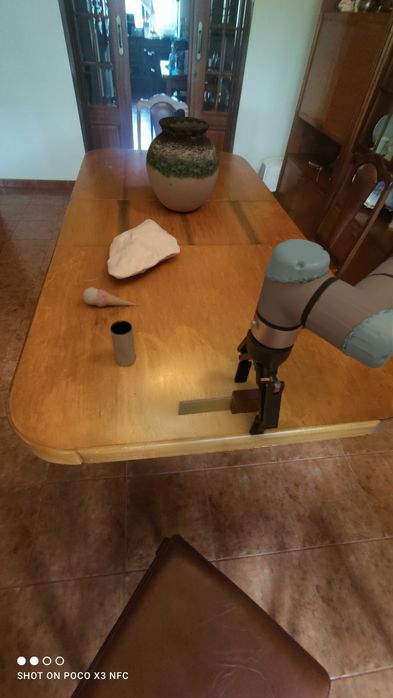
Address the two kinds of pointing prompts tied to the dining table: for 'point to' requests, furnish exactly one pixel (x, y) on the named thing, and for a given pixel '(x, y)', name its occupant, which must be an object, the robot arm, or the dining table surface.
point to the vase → (182, 163)
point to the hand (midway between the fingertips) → (247, 405)
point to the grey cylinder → (123, 343)
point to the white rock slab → (140, 249)
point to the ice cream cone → (103, 298)
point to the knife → (223, 403)
